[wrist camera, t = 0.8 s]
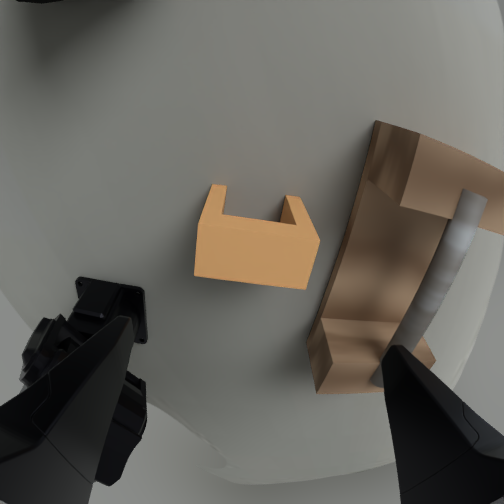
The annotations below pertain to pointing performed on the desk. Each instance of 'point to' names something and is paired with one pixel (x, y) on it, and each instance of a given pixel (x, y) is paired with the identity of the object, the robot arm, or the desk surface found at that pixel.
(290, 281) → the tan u-shaped bracket
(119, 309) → the robot arm
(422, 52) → the desk surface
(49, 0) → the black cylinder
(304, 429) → the desk surface
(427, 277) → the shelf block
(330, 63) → the desk surface
